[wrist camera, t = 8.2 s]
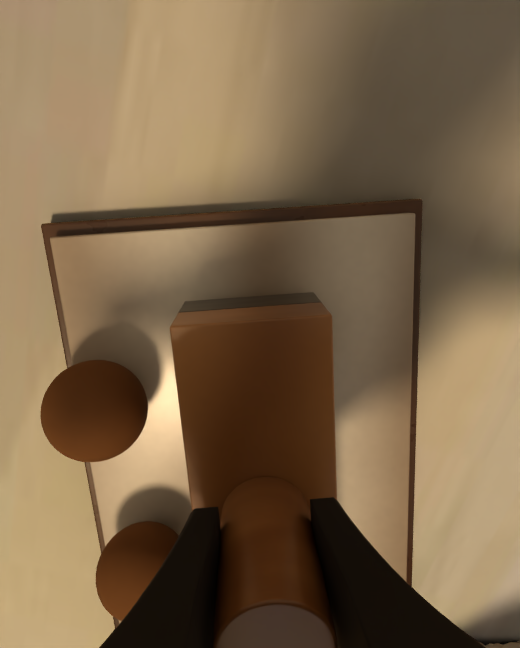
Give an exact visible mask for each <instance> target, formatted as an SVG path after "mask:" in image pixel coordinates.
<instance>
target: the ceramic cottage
mask: <svg viewBox="0 0 520 648" xmlns="http://www.w3.org/2000/svg"><path fill="white" fill-rule="evenodd" d="M479 643H480V644H482V643H481V642H479ZM482 645H483V644H482ZM483 646H484V647H486V648H520V641H517V642H515V643H514V642H510V643H507V644H504V645H501V644H499V643H495V644H492V643H490V644H488V645H486V646H485V645H483Z"/></svg>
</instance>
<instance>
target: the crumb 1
mask: <svg viewBox="0 0 520 648" xmlns="http://www.w3.org/2000/svg"><path fill="white" fill-rule="evenodd" d="M147 414H148V401H147V396H146V393H145V390H144V388H143V386H142V384H141V382H140V381H139V379H138V378H137V377H136V376H135V375H134V374H133V373H132V372H131V371H130V370H128V369H127V368H125V367H124V366H122V365H120V364H118V363H115V362H112V361H106V360H89V361H84V362H80V363H77V364H75V365H73V366H71V367H69V368H67V369H66V370H64V371H63V372H61V373H60V374H59V375H58V376H57V377H56V378H55V379H54V380H53V382H52V383H51V384H50V386H49V387H48V389H47V391H46V393H45V395H44V398H43V401H42V406H41V423H42V427H43V430H44V433H45V435H46V437H47V439H48V440H49V442H50V443H51V444H52V446H53V447H54V448H55V449H56V450H58V451H59V452H60V453H62V454H63V455H65V456H67V457H69V458H71V459H74V460H77V461H82V462H100V461H105V460H109V459H111V458H114V457H116V456H118V455H120V454H121V453H123V452H124V451H126V450H127V449H128V448H129V447H131V446H132V445H133V443H134V442H135V441H136V440H137V439H138V437H139V436H140V434H141V432H142V430H143V428H144V426H145V423H146V420H147Z"/></svg>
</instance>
